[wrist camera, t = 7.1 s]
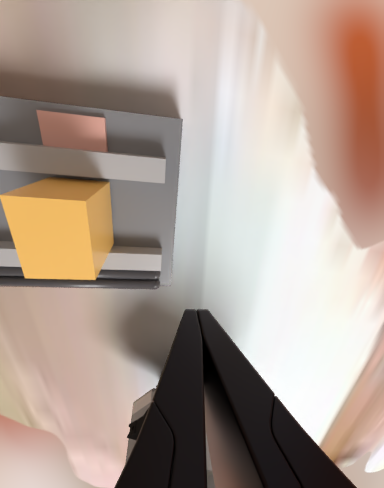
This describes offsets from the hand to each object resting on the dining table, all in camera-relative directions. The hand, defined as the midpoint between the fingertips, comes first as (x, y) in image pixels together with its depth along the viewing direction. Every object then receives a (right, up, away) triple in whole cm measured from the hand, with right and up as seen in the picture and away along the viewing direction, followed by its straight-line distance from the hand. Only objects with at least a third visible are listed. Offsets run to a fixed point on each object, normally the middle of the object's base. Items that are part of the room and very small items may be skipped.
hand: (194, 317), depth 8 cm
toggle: (-8, +5, +8) cm, 13 cm away
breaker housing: (-13, +6, +10) cm, 17 cm away
